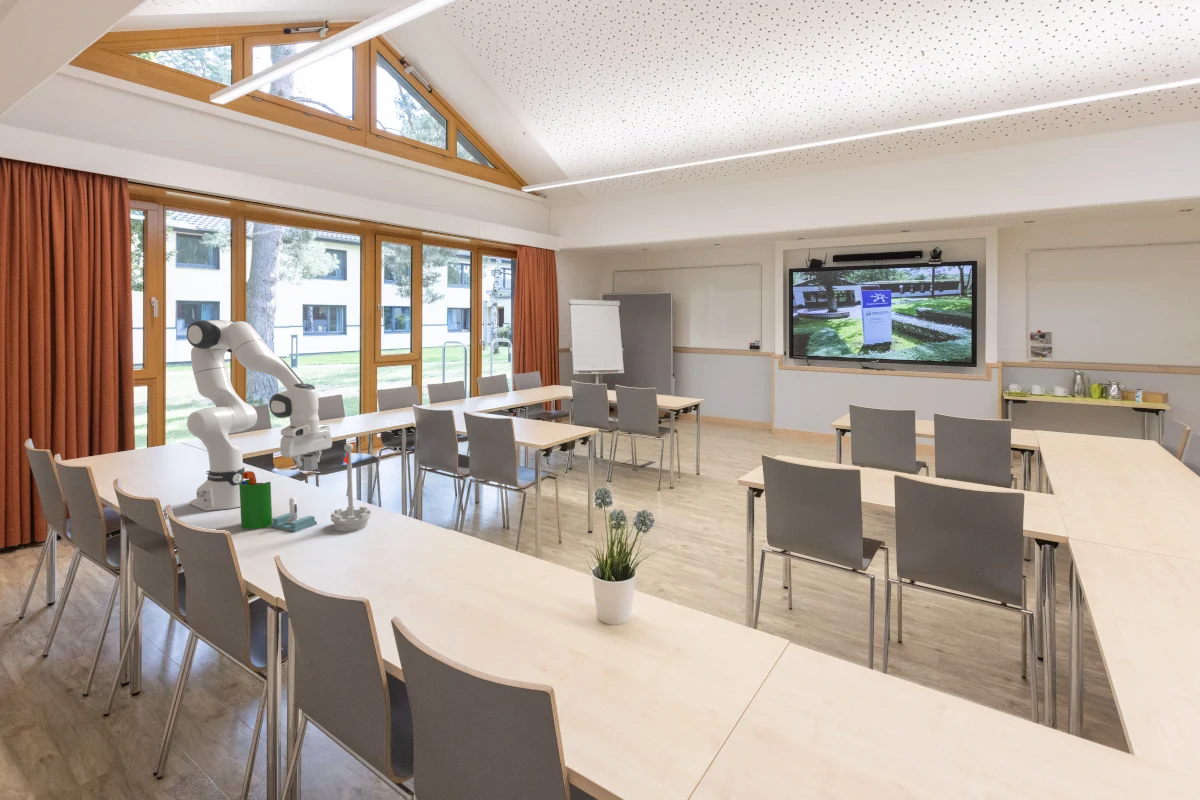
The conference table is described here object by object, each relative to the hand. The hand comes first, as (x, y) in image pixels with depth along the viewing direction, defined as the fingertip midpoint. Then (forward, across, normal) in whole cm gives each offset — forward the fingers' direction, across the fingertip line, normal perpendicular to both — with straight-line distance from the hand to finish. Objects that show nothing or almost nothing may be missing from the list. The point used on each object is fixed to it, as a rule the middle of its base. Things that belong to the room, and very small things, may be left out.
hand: (308, 464), depth 230 cm
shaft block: (+19, +12, +5) cm, 23 cm away
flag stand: (+19, +3, +23) cm, 30 cm away
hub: (+2, 0, 0) cm, 2 cm away
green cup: (+19, +17, -7) cm, 27 cm away
